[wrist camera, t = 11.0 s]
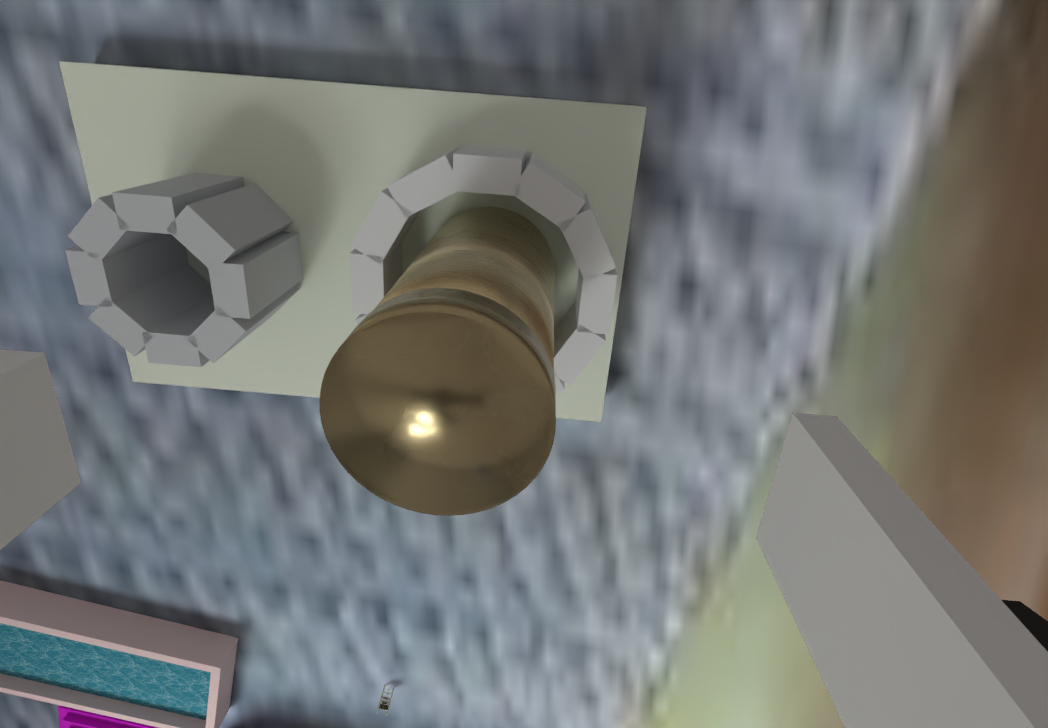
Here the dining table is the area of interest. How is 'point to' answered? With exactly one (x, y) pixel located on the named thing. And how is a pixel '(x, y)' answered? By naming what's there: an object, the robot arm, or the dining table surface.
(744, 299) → the dining table surface
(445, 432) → the cylinder
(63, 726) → the model house
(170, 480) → the dining table surface
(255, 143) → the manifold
